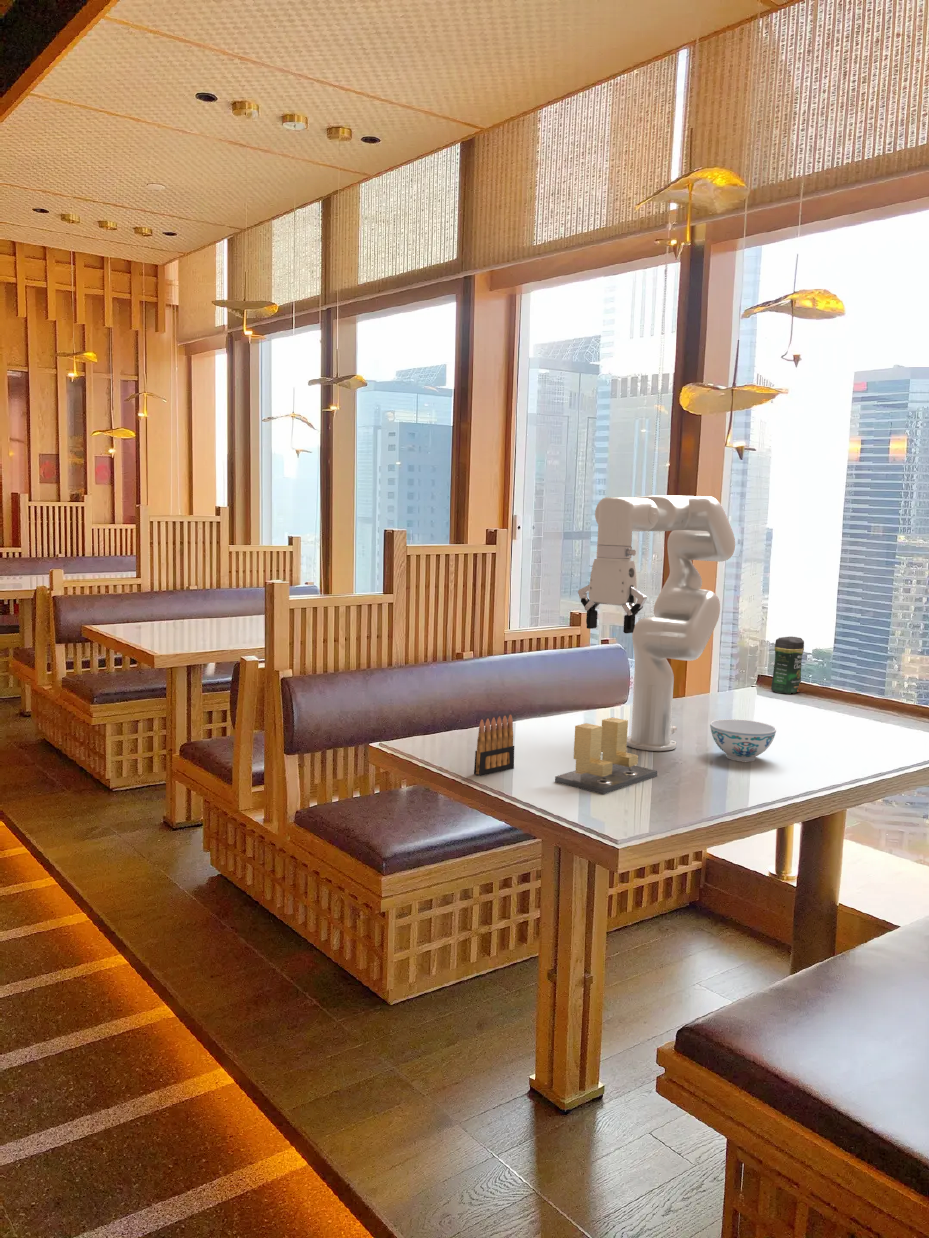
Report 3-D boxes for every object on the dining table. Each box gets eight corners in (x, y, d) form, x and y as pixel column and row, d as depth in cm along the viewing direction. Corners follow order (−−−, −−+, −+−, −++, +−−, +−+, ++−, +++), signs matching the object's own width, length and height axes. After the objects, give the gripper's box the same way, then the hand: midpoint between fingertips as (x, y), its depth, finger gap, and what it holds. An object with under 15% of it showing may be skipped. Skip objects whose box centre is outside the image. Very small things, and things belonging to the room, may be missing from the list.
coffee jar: (788, 695, 320) (792, 638, 318) (767, 691, 326) (771, 636, 324) (804, 692, 327) (808, 637, 325) (783, 689, 333) (787, 634, 331)
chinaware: (780, 756, 236) (782, 725, 235) (765, 769, 223) (767, 736, 222) (718, 747, 243) (720, 716, 242) (700, 759, 230) (702, 726, 229)
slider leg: (609, 763, 216) (612, 717, 214) (637, 769, 211) (640, 722, 210) (599, 766, 213) (602, 719, 211) (627, 772, 208) (630, 725, 207)
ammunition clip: (508, 766, 217) (510, 713, 216) (514, 768, 216) (516, 714, 214) (473, 774, 210) (475, 718, 208) (479, 776, 208) (482, 720, 207)
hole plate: (610, 765, 221) (613, 711, 220) (657, 775, 214) (660, 720, 212) (555, 781, 206) (557, 724, 204) (603, 794, 198) (606, 734, 197)
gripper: (656, 555, 215) (652, 633, 217) (590, 551, 226) (587, 625, 228) (638, 556, 209) (634, 636, 211) (571, 551, 221) (568, 627, 222)
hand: (609, 630), depth 220 cm, fingers open, 9 cm apart
